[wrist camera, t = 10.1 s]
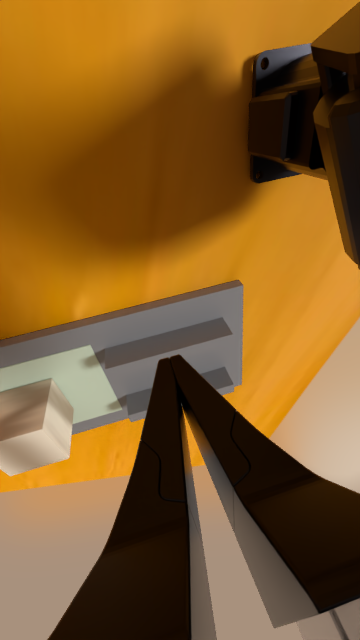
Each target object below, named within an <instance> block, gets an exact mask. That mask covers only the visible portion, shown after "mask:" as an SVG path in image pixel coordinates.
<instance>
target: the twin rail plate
mask: <svg viewBox="0 0 360 640" xmlns="http://www.w3.org/2000/svg"><path fill="white" fill-rule="evenodd" d="M242 332H243V284H242V283H241V282H240V281H239V280H236V281H232V282H228V283H224V284H220V285H216V286H212V287H208V288H205V289H201V290H197V291H193V292H189V293H185V294H181V295H177V296H173V297H169V298H165V299H161V300H157V301H153V302H149V303H145V304H142V305H138V306H134V307H130V308H126V309H122V310H118V311H114V312H110V313H106V314H102V315H98V316H94V317H90V318H86V319H83V320H79V321H75V322H71V323H67V324H63V325H59V326H55V327H51V328H47V329H43V330H39V331H35V332H31V333H27V334H24V335H20V336H16V337H12V338H8V339H4V340H0V392H3V391H7V390H11V389H14V388H18V387H22V386H25V385H29V384H33V383H36V382H40V381H44V380H47V379H51V378H52V379H53V380H54V382H55V383H56V385H57V386H58V387H59V389H60V390H61V392H62V393H63V394H64V396H65V397H66V399H67V400H68V401H69V403H70V404H71V406H72V407H73V409H74V413H73V424H72V435H73V434H77V433H80V432H83V431H87V430H90V429H93V428H97V427H100V426H103V425H107V424H110V423H114V422H117V421H120V420H124V419H127V418H129V419H130V421H131V422H133V421H137V420H140V419H144V418H145V417H146V412H147V408H148V404H149V399H150V395H151V391H152V386H153V382H154V377H155V373H156V369H157V364H158V361H159V360H160V359H163V358H166V357H168V358H169V359H170V356H174V355H177V354H179V355H181V356H182V357H183V358H184V359H185V360H186V361H187V362H188V363H189V364H190V365H191V366H192V367H193V368H194V369H195V370H196V371H197V372H198V373H199V374H200V375H201V376H202V377H203V378H204V379H205V380H206V381H207V382H208V383H210V384H211V385H212V386H213V387H214V388H215V389H216V390H217V391H218V392H219V393H220V394H221V395H224V394H227V393H231V392H234V387H235V386H238V385H242Z"/></svg>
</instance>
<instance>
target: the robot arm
mask: <svg viewBox="0 0 360 640" xmlns="http://www.w3.org/2000/svg"><path fill="white" fill-rule="evenodd" d="M262 59H264V60H265V63H266V65H265V68H264V70H262V68H261V65H260V64H261V60H262ZM248 151H249V153H250V154H251V161H250V178H251V180H252V181H253V182H255V183H262V182H267V181H272V180H276V179H281V178H285V177H290V176H295V175H299V174H305V175H309V176H313V177H317V178H321V179H325V180H328V182H329V186H330V191H331V195H332V199H333V203H334V207H335V212H336V216H337V220H338V224H339V229H340V233H341V237H342V241H343V245H344V250H345V252H346V254H347V255H348V256H349V257H350V258H351V259H352V260H353V261H354V262H355V263H356V264H358V268H359V269H360V2H359V3H358V4H356V5H355V6H354V7H353V8H352V9H351V10H349V11H348V12H347V13H346V14H345V15H344V16H343V17H341V18H340V19H339V20H338V21H337V22H336V23H334V24H333V25H332V26H331V27H330V28H329V29H327V30H326V31H325V32H324V33H323V34H322V35H321V36H319V37H318V38H317V39H316V40H315V41H314V42H313V43H310V44H304V45H298V46H292V47H286V48H280V49H273V50H267V51H264V52H262V53H259V54H258V55H257V56H256V58H255V60H254V63H253V86H252V100H251V101H250V103H249V131H248ZM259 171H260V176H259V177H258V178H256V174H257V172H259ZM182 407H183V408H182ZM183 410H184V413H185V416H186V418H187V421H188V423H189V425H190V428H191V430H192V433H193V435H194V437H195V440H196V442H197V445H198V447H199V449H200V452H201V454H202V457H203V459H204V461H205V464H206V466H207V469H208V471H209V473H210V476H211V478H212V481H213V483H214V485H215V488H216V490H217V493H218V495H219V497H220V500H221V502H222V505H223V507H224V509H225V512H226V514H227V517H228V519H229V521H230V524H231V526H232V529H233V531H234V533H235V536H236V538H237V541H238V543H239V546H240V548H241V550H242V553H243V555H244V558H245V560H246V562H247V565H248V567H249V570H250V572H251V574H252V577H253V579H254V581H255V584H256V586H257V589H258V591H259V594H260V596H261V598H262V601H263V603H264V605H265V608H266V610H267V613H268V615H269V618H270V620H271V622H272V625H273V627H274V628H277V627H280V626H283V625H287V624H290V623H293V622H297V625H298V627H299V630H300V633H301V635H302V638H303V640H360V494H359V493H357V492H355V491H352V490H349V489H347V488H345V487H343V486H340V485H338V484H335V483H333V482H331V481H328V480H326V479H324V478H322V477H320V476H318V475H316V474H315V473H313V472H312V471H310V470H309V469H307V468H306V467H304V466H303V465H302V464H300V463H299V462H298V461H297V460H295V459H294V458H293V457H292V456H290V455H289V454H288V453H286V452H285V451H284V450H283V449H281V448H280V447H279V446H277V445H276V444H275V443H273V442H272V441H271V440H270V439H268V438H267V437H266V436H265V435H264V434H262V433H261V432H260V431H259V430H257V429H256V428H255V427H254V426H253V425H252V424H251V423H250V422H249V421H248V420H246V419H245V418H244V417H243V416H242V415H241V414H240V413H239V412H238V411H236V409H235V408H234V407H233V406H232V405H231V404H230V403H229V402H228V401H227V400H226V399H225V398H224V397H223V396H222V395H221V394H220V393H219V392H218V391H217V390H216V389H215V388H214V387H213V386H212V385H211V384H210V383H208V382H207V381H206V380H205V379H204V378H203V377H202V376H201V375H200V374H199V373H198V372H197V371H196V370H195V369H194V368H193V367H192V366H191V365H190V364H189V363H188V362H187V361H186V360H185V359H184V358H183V357H182V356H181V355H179V354H177V355H174V356H170V359H169V358H168V357H166V358H163V359H160V360H159V361H158V364H157V369H156V373H155V377H154V382H153V386H152V391H151V395H150V399H149V404H148V408H147V412H146V417H145V421H144V426H143V430H142V434H141V441H140V443H139V447H138V451H137V455H136V459H135V463H134V467H133V470H132V473H131V476H130V479H129V483H128V485H127V488H126V491H125V494H124V497H123V499H122V502H121V505H120V508H119V511H118V514H117V516H116V519H115V522H114V525H113V528H112V530H111V533H110V536H109V538H108V541H107V543H106V545H105V547H104V549H103V551H102V553H101V555H100V557H99V559H98V560H97V562H96V564H95V565H94V567H93V568H92V570H91V572H90V573H89V575H88V576H87V578H86V580H85V581H84V583H83V584H82V586H81V588H80V589H79V591H78V592H77V594H76V596H75V597H74V599H73V601H72V602H71V604H70V605H69V607H68V608H67V610H66V612H65V613H64V615H63V617H62V618H61V620H60V621H59V623H58V625H57V626H56V628H55V630H54V631H53V632H52V634H51V635H50V637H49V638H48V639H47V640H217V638H216V631H215V624H214V617H213V611H212V604H211V597H210V590H209V583H208V577H207V570H206V563H205V556H204V549H203V542H202V535H201V529H200V522H199V515H198V508H197V501H196V494H195V488H194V481H193V474H192V467H191V460H190V453H189V446H188V440H187V433H186V426H185V419H184V413H183Z"/></svg>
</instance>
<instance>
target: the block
mask: <svg viewBox="0 0 360 640" xmlns="http://www.w3.org/2000/svg"><path fill="white" fill-rule="evenodd" d="M73 413H74V409H73V407H72V406H71V404H70V403H69V401H68V400H67V399H66V397H65V396H64V394H63V393H62V392H61V390H60V389H59V387H58V386H57V385H56V383H55V382H54V380H53V379H52V378H51V379H47V380H44V381H40V382H36V383H33V384H29V385H25V386H22V387H18V388H14V389H11V390H7V391H3V392H0V469H1V470H2V471H4V472H5V473H6V474H8V475H9V476H13V475H16V474H19V473H22V472H26V471H29V470H32V469H35V468H39V467H42V466H45V465H49V464H52V463H55V462H58V461H62V460H65V459H68V458H69V456H70V445H71V435H72V424H73Z"/></svg>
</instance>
